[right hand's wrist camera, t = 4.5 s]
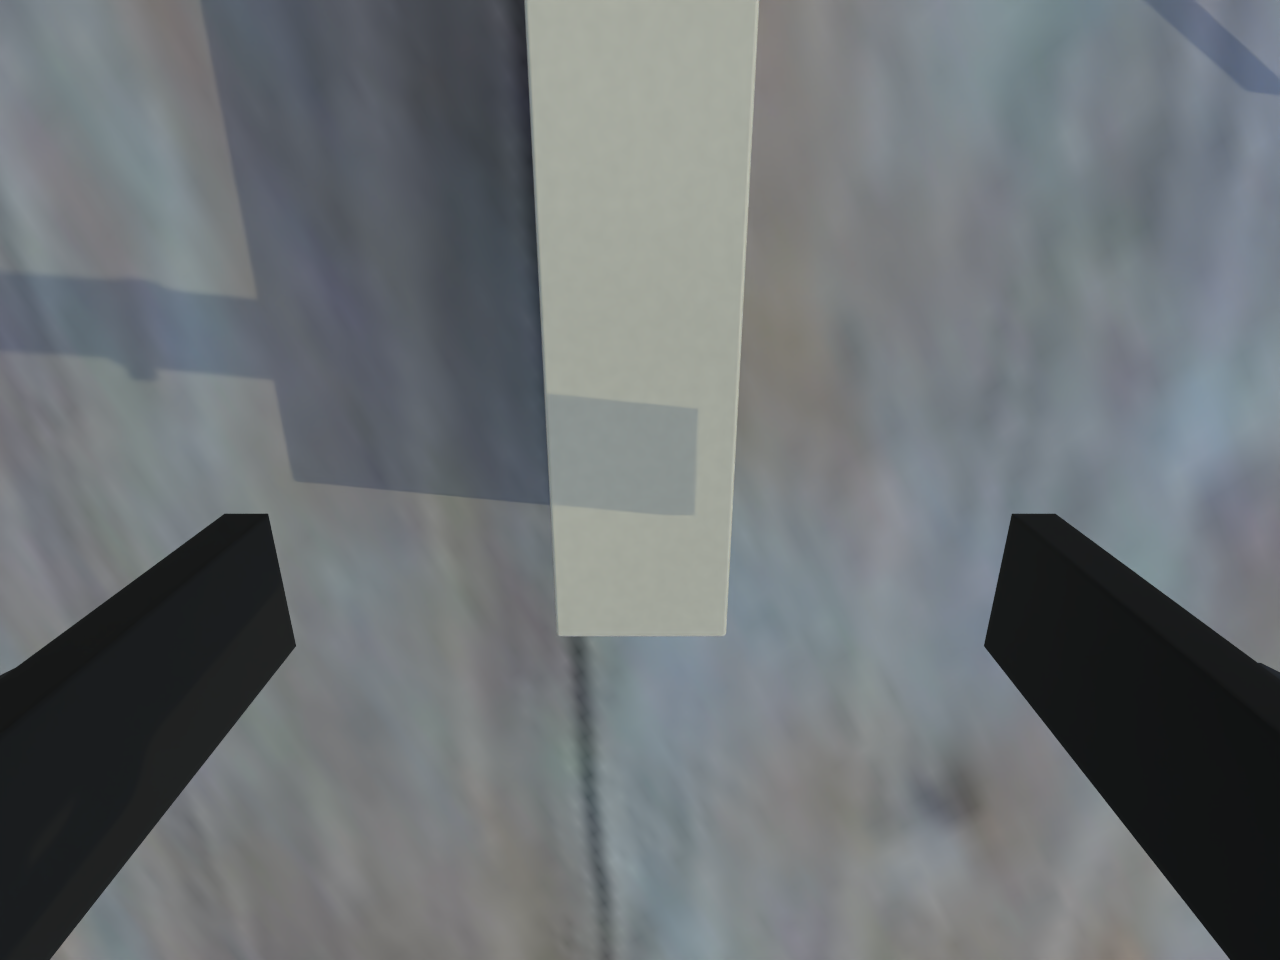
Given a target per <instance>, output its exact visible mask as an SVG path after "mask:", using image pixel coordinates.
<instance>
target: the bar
mask: <svg viewBox="0 0 1280 960" xmlns="http://www.w3.org/2000/svg"><path fill="white" fill-rule="evenodd" d="M524 3H525V22H526V42H527V62H528V81H529V101H530V121H531V140H532V160H533V179H534V199H535V219H536V238H537V258H538V278H539V297H540V317H541V336H542V356H543V376H544V395H545V415H546V435H547V454H548V474H549V493H550V513H551V533H552V552H553V572H554V592H555V611H556V631H557V635H558V636H725V634H726V624H727V605H728V586H729V567H730V548H731V529H732V510H733V491H734V472H735V452H736V433H737V414H738V395H739V376H740V357H741V338H742V319H743V300H744V281H745V262H746V243H747V224H748V204H749V185H750V166H751V147H752V128H753V109H754V90H755V71H756V52H757V33H758V14H759V0H524Z"/></svg>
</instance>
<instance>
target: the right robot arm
mask: <svg viewBox="0 0 1280 960" xmlns="http://www.w3.org/2000/svg"><path fill="white" fill-rule="evenodd" d="M295 647H296V644H295V639H294V634H293V630H292V625H291V620H290V615H289V611H288V606H287V601H286V597H285V592H284V587H283V582H282V578H281V573H280V568H279V563H278V559H277V554H276V549H275V545H274V540H273V535H272V530H271V526H270V521H269V516H268V514H224V515H222V516H221V517H220V518H218V519H217V520H216V521H214V522H213V523H212V524H210V525H209V526H207V527H206V528H205V529H203V530H202V531H201V532H199V533H198V534H197V535H195V536H194V537H193V538H191V539H190V540H188V541H187V542H186V543H184V544H183V545H182V546H180V547H179V548H178V549H176V550H175V551H174V552H172V553H171V554H169V555H168V556H167V557H165V558H164V559H163V560H161V561H160V562H159V563H157V564H156V565H155V566H153V567H152V568H150V569H149V570H148V571H146V572H145V573H144V574H142V575H141V576H140V577H138V578H137V579H136V580H134V581H133V582H132V583H130V584H129V585H127V586H126V587H125V588H123V589H122V590H121V591H119V592H118V593H117V594H115V595H114V596H113V597H111V598H110V599H108V600H107V601H106V602H104V603H103V604H102V605H100V606H99V607H98V608H96V609H95V610H94V611H92V612H91V613H89V614H88V615H87V616H85V617H84V618H83V619H81V620H80V621H79V622H77V623H76V624H75V625H73V626H72V627H70V628H69V629H68V630H66V631H65V632H64V633H62V634H61V635H60V636H58V637H57V638H56V639H54V640H53V641H51V642H50V643H49V644H47V645H46V646H45V647H43V648H42V649H41V650H39V651H38V652H37V653H35V654H34V655H32V656H31V657H30V658H28V659H27V660H26V661H24V662H23V663H22V664H20V665H19V666H18V667H16V668H14V669H12V670H10V671H8V672H6V673H4V674H2V675H0V960H50V959H51V957H52V956H53V955H54V954H55V952H56V951H57V950H58V949H59V947H60V946H61V945H62V943H63V942H64V941H65V940H66V938H67V937H68V936H69V935H70V933H71V932H72V931H73V929H74V928H75V927H76V926H77V924H78V923H79V922H80V921H81V919H82V918H83V917H84V915H85V914H86V913H87V912H88V910H89V909H90V908H91V907H92V905H93V904H94V903H95V901H96V900H97V899H98V898H99V896H100V895H101V894H102V892H103V891H104V890H105V889H106V887H107V886H108V885H109V884H110V882H111V881H112V880H113V878H114V877H115V876H116V875H117V873H118V872H119V871H120V870H121V868H122V867H123V866H124V864H125V863H126V862H127V861H128V859H129V858H130V857H131V856H132V854H133V853H134V852H135V850H136V849H137V848H138V847H139V845H140V844H141V843H142V842H143V840H144V839H145V838H146V836H147V835H148V834H149V833H150V831H151V830H152V829H153V828H154V826H155V825H156V824H157V822H158V821H159V820H160V819H161V817H162V816H163V815H164V813H165V812H166V811H167V810H168V808H169V807H170V806H171V805H172V803H173V802H174V801H175V799H176V798H177V797H178V796H179V794H180V793H181V792H182V791H183V789H184V788H185V787H186V785H187V784H188V783H189V782H190V780H191V779H192V778H193V777H194V775H195V774H196V773H197V771H198V770H199V769H200V768H201V766H202V765H203V764H204V763H205V761H206V760H207V759H208V757H209V756H210V755H211V754H212V752H213V751H214V750H215V749H216V747H217V746H218V745H219V743H220V742H221V741H222V740H223V738H224V737H225V736H226V734H227V733H228V732H229V731H230V729H231V728H232V727H233V726H234V724H235V723H236V722H237V720H238V719H239V718H240V717H241V715H242V714H243V713H244V712H245V710H246V709H247V708H248V706H249V705H250V704H251V703H252V701H253V700H254V699H255V698H256V696H257V695H258V694H259V692H260V691H261V690H262V689H263V687H264V686H265V685H266V684H267V682H268V681H269V680H270V678H271V677H272V676H273V675H274V673H275V672H276V671H277V670H278V668H279V667H280V666H281V664H282V663H283V662H284V661H285V659H286V658H287V657H288V655H289V654H290V653H291V652H292V650H293V649H294V648H295ZM984 647H985V648H986V649H987V650H988V652H989V653H990V654H991V655H992V657H993V658H994V659H995V661H996V662H997V663H998V664H999V666H1000V667H1001V668H1002V670H1003V671H1004V672H1005V673H1006V675H1007V676H1008V677H1009V678H1010V680H1011V681H1012V682H1013V684H1014V685H1015V686H1016V687H1017V689H1018V690H1019V691H1020V692H1021V694H1022V695H1023V696H1024V698H1025V699H1026V700H1027V701H1028V703H1029V704H1030V705H1031V706H1032V708H1033V709H1034V710H1035V712H1036V713H1037V714H1038V715H1039V717H1040V718H1041V719H1042V720H1043V722H1044V723H1045V724H1046V726H1047V727H1048V728H1049V729H1050V731H1051V732H1052V733H1053V734H1054V736H1055V737H1056V738H1057V740H1058V741H1059V742H1060V743H1061V745H1062V746H1063V747H1064V749H1065V750H1066V751H1067V752H1068V754H1069V755H1070V756H1071V757H1072V759H1073V760H1074V761H1075V763H1076V764H1077V765H1078V766H1079V768H1080V769H1081V770H1082V771H1083V773H1084V774H1085V775H1086V777H1087V778H1088V779H1089V780H1090V782H1091V783H1092V784H1093V785H1094V787H1095V788H1096V789H1097V791H1098V792H1099V793H1100V794H1101V796H1102V797H1103V798H1104V799H1105V801H1106V802H1107V803H1108V805H1109V806H1110V807H1111V808H1112V810H1113V811H1114V812H1115V813H1116V815H1117V816H1118V817H1119V819H1120V820H1121V821H1122V822H1123V824H1124V825H1125V826H1126V828H1127V829H1128V830H1129V831H1130V833H1131V834H1132V835H1133V836H1134V838H1135V839H1136V840H1137V842H1138V843H1139V844H1140V845H1141V847H1142V848H1143V849H1144V850H1145V852H1146V853H1147V854H1148V856H1149V857H1150V858H1151V859H1152V861H1153V862H1154V863H1155V864H1156V866H1157V867H1158V868H1159V870H1160V871H1161V872H1162V873H1163V875H1164V876H1165V877H1166V878H1167V880H1168V881H1169V882H1170V884H1171V885H1172V886H1173V887H1174V889H1175V890H1176V891H1177V893H1178V894H1179V895H1180V896H1181V898H1182V899H1183V900H1184V901H1185V903H1186V904H1187V905H1188V907H1189V908H1190V909H1191V910H1192V912H1193V913H1194V914H1195V915H1196V917H1197V918H1198V919H1199V921H1200V922H1201V923H1202V924H1203V926H1204V927H1205V928H1206V929H1207V931H1208V932H1209V933H1210V935H1211V936H1212V937H1213V938H1214V940H1215V941H1216V942H1217V943H1218V945H1219V946H1220V947H1221V949H1222V950H1223V951H1224V952H1225V954H1226V955H1227V956H1228V957H1229V959H1230V960H1280V672H1278V671H1276V670H1274V669H1272V668H1270V667H1268V666H1266V665H1264V664H1262V663H1257V662H1256V661H1254V660H1253V659H1252V658H1250V657H1249V656H1248V655H1246V654H1245V653H1243V652H1242V651H1241V650H1239V649H1238V648H1237V647H1235V646H1234V645H1233V644H1231V643H1230V642H1229V641H1227V640H1226V639H1224V638H1223V637H1222V636H1220V635H1219V634H1218V633H1216V632H1215V631H1214V630H1212V629H1211V628H1210V627H1208V626H1207V625H1205V624H1204V623H1203V622H1201V621H1200V620H1199V619H1197V618H1196V617H1195V616H1193V615H1192V614H1191V613H1189V612H1188V611H1186V610H1185V609H1184V608H1182V607H1181V606H1180V605H1178V604H1177V603H1176V602H1174V601H1173V600H1172V599H1170V598H1169V597H1167V596H1166V595H1165V594H1163V593H1162V592H1161V591H1159V590H1158V589H1157V588H1155V587H1154V586H1153V585H1151V584H1150V583H1148V582H1147V581H1146V580H1144V579H1143V578H1142V577H1140V576H1139V575H1138V574H1136V573H1135V572H1134V571H1132V570H1131V569H1130V568H1128V567H1127V566H1125V565H1124V564H1123V563H1121V562H1120V561H1119V560H1117V559H1116V558H1115V557H1113V556H1112V555H1111V554H1109V553H1108V552H1106V551H1105V550H1104V549H1102V548H1101V547H1100V546H1098V545H1097V544H1096V543H1094V542H1093V541H1092V540H1090V539H1089V538H1087V537H1086V536H1085V535H1083V534H1082V533H1081V532H1079V531H1078V530H1077V529H1075V528H1074V527H1073V526H1071V525H1070V524H1068V523H1067V522H1066V521H1064V520H1063V519H1062V518H1060V517H1059V516H1058V515H1056V514H1012V516H1011V521H1010V526H1009V530H1008V535H1007V540H1006V545H1005V549H1004V554H1003V559H1002V563H1001V568H1000V573H999V578H998V582H997V587H996V592H995V597H994V601H993V606H992V611H991V615H990V620H989V625H988V630H987V634H986V639H985V644H984Z"/></svg>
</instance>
